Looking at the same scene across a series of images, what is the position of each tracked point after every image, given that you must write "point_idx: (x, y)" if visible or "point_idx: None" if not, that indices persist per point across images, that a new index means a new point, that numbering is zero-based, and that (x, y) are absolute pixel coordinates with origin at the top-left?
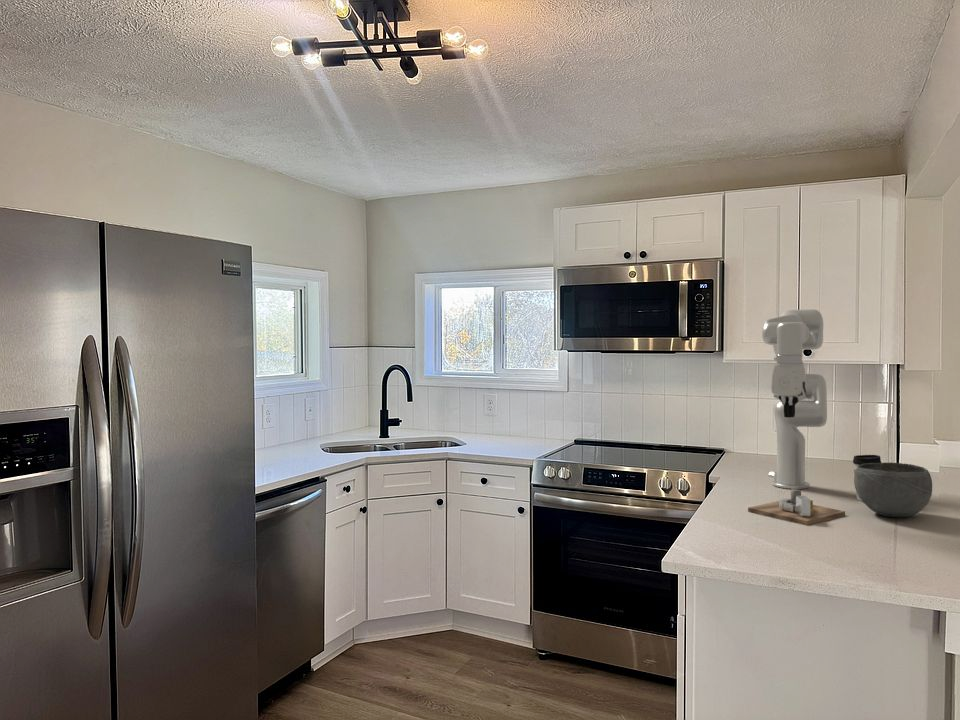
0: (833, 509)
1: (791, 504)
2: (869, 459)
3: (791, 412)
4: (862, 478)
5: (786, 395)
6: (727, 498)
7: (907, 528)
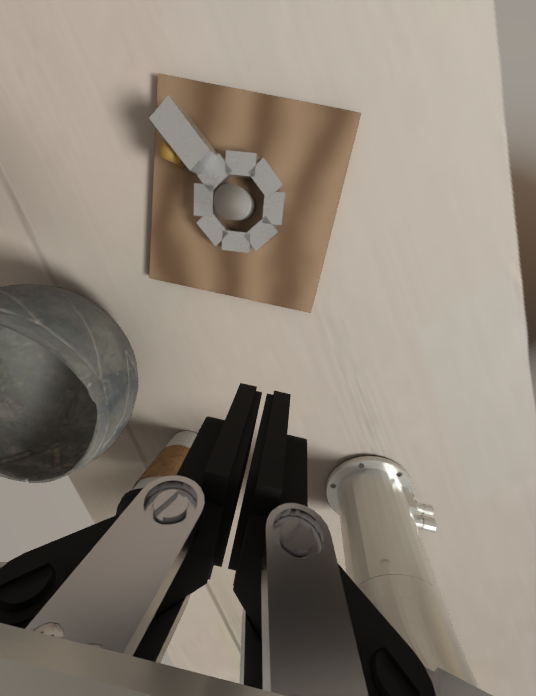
0: (176, 278)
1: (233, 158)
2: (126, 507)
3: (207, 426)
4: (55, 314)
5: (121, 661)
6: (471, 250)
7: (14, 247)
